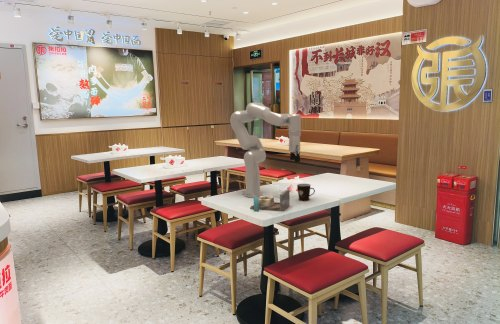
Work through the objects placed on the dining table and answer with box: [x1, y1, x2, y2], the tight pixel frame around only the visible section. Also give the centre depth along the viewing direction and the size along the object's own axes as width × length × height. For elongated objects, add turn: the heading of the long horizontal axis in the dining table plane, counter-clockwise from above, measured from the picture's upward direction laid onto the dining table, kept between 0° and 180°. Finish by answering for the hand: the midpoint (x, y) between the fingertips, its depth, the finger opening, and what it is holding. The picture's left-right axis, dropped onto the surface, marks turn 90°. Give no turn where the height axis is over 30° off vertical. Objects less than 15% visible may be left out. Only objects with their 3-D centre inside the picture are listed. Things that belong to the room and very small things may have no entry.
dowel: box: [253, 197, 260, 212], centre depth 225 cm, size 3×3×8 cm
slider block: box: [259, 195, 275, 207], centre depth 232 cm, size 9×9×4 cm
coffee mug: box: [296, 183, 316, 202], centre depth 245 cm, size 12×9×10 cm
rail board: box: [249, 189, 291, 212], centre depth 231 cm, size 21×13×10 cm, turn 68°
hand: (295, 160), depth 240 cm, fingers open, 9 cm apart
